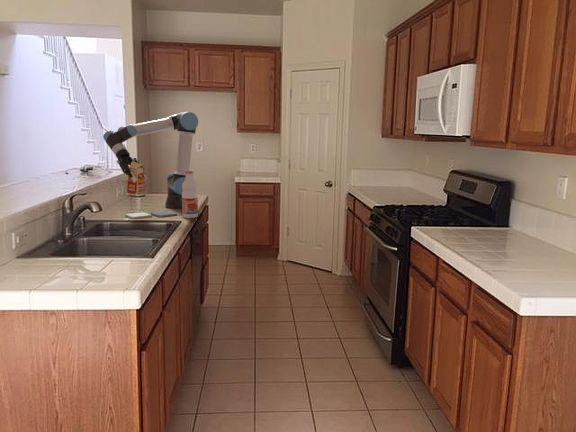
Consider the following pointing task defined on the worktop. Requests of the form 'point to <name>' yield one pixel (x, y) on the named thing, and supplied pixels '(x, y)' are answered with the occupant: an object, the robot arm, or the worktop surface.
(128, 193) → the milk carton
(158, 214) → the slate mat
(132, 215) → the sage mat
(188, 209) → the fruit juice
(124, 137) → the robot arm
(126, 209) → the worktop surface
